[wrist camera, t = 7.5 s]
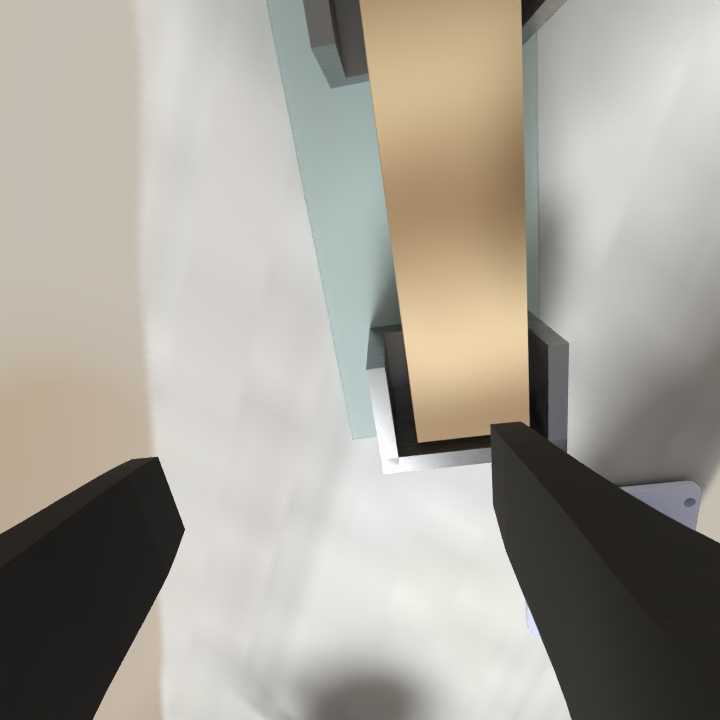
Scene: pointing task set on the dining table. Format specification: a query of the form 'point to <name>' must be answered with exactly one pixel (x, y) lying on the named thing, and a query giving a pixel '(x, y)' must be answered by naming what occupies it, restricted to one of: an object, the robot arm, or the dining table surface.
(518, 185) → the rail
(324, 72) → the bracket
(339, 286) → the board
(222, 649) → the dining table surface
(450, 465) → the bracket
